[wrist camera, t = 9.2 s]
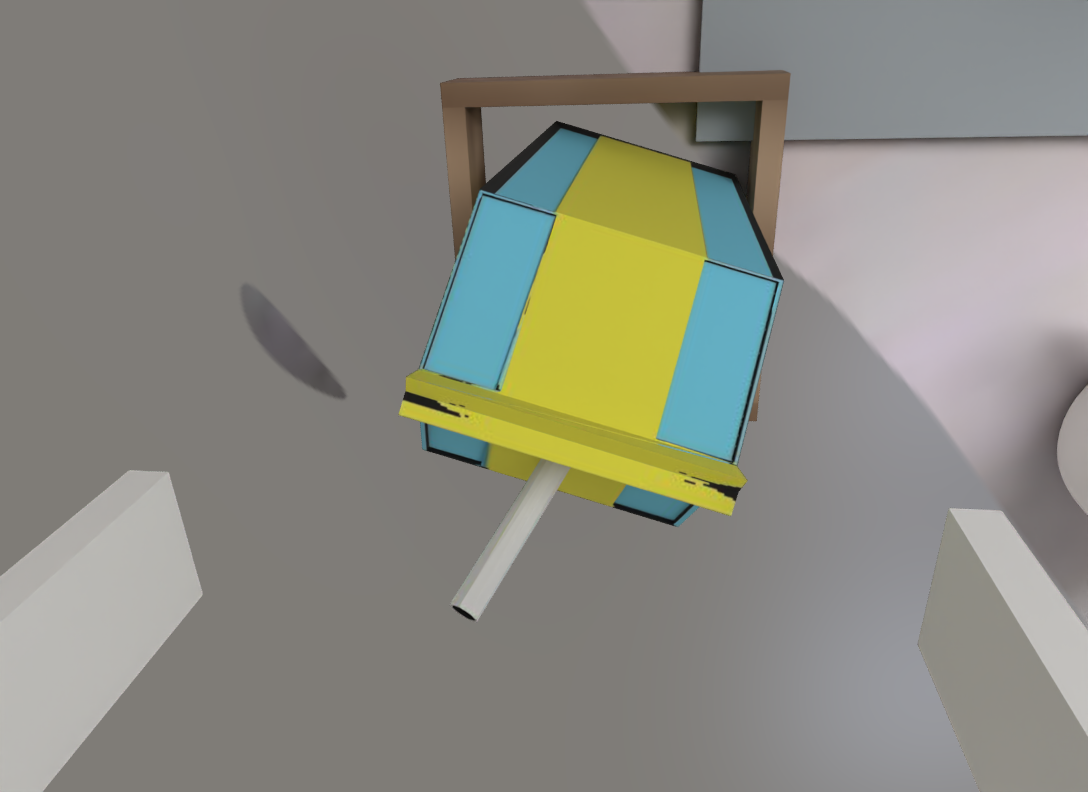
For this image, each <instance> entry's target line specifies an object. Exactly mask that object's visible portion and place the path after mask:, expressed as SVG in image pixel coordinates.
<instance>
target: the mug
mask: <svg viewBox="0 0 1088 792" xmlns="http://www.w3.org/2000/svg"><path fill="white" fill-rule="evenodd" d="M1057 460H1058V466H1059V470H1060V473H1061V476H1062V479H1063V481H1064V483H1065V485H1066V487H1067V489H1068V491H1069V492H1070V494H1071V495H1072V497H1073V498H1074V500H1075V501H1076V502H1077V504H1078V505H1079V506H1080V507H1081V508H1082V510H1083V511H1084V512H1085V513H1086V514H1087V516H1088V385H1087V386H1086V387H1085V388H1084V389H1083V390H1082V391H1081V393H1080V394H1079V395H1078V396H1077V397H1076V399H1075V400H1074V402H1073V403H1072V405H1071V406H1070V408H1069V410H1068V412H1067V414H1066V416H1065V418H1064V420H1063V423H1062V426H1061V429H1060V433H1059V438H1058V443H1057Z"/></svg>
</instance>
